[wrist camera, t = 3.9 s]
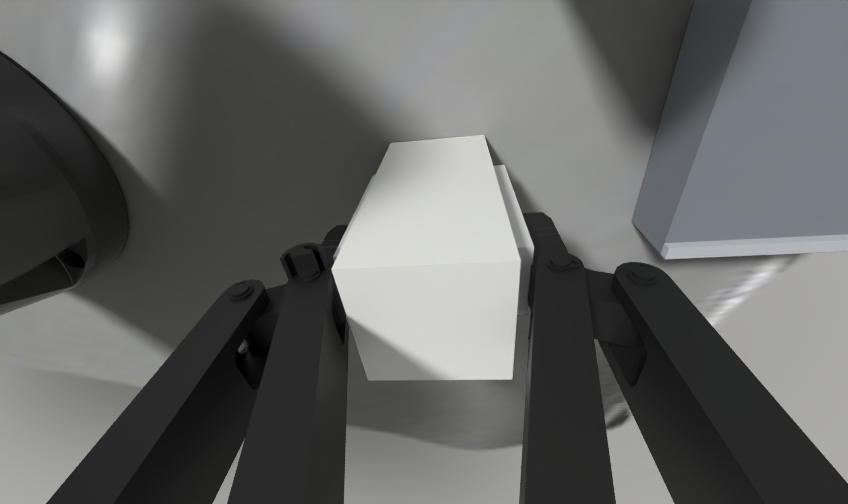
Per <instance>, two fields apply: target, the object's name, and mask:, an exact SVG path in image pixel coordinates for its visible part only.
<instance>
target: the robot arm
mask: <svg viewBox="0 0 848 504" xmlns="http://www.w3.org/2000/svg"><path fill="white" fill-rule="evenodd" d="M493 167H494V170H495V174H496V177H497V181H498V184H499V187H500V191H501V194H502V198H503V201H504V205H505V208H506V211H507V215H508V218H509V222H510V225H511V229H512V232H513V235H514V239H515V242H516V246H517V249H518V253H519V256H520V259H521V266H520V280H519V293H518V307H517V315H525V314H528V305H529V306H530V310H531V319H530V328H529V338H528V339H529V349H528V365H527V382H526V398H525V415H524V432H523V448H522V465H521V482H520V499H519V504H616V501H615V494H614V486H613V478H612V471H611V463H610V456H609V448H608V441H607V433H606V426H605V419H604V411H603V404H602V396H601V389H600V381H599V374H598V366H597V359H596V351H595V344H594V339H598V342H599V344H600V346H601V348H602V350H603V352H604V355H605V357H606V359H607V361H608V363H609V365H610V367H611V369H612V372H613V374H614V376H615V378H616V380H617V382H618V384H619V386H620V389H621V391H622V393H623V395H624V397H625V399H626V401H627V403H628V406H629V408H630V410H631V412H632V414H633V416H634V418H635V420H636V423H637V425H638V427H639V429H640V431H641V433H642V435H643V437H644V440H645V442H646V444H647V446H648V448H649V450H650V452H651V454H652V456H653V459H654V461H655V463H656V465H657V467H658V469H659V472H660V474H661V476H662V478H663V480H664V482H665V484H666V486H667V488H668V491H669V493H670V495H671V497H672V499H673V501H674V503H675V504H848V483H847V482H846V481H845V480H844V479H843V477H841V475H840V474H839V473H838V472H837V471H836V469H835V468H834V467H833V466H832V465H831V464H830V463H829V461H828V460H827V459H826V458H825V457H824V455H823V454H822V453H821V452H820V451H819V450H818V448H817V447H816V446H815V445H814V444H813V443H812V442H811V440H810V439H809V438H808V437H807V436H806V435H805V433H804V432H803V431H802V430H801V429H800V428H799V426H798V425H797V424H796V423H795V422H794V421H793V420H792V419H791V417H790V416H789V415H788V414H787V413H786V411H785V410H784V409H783V408H782V407H781V406H780V405H779V403H778V402H777V401H776V400H775V399H774V397H773V396H772V395H771V394H770V393H769V392H768V390H767V389H766V388H765V387H764V386H763V385H762V384H761V382H760V381H759V380H758V379H757V378H756V377H755V376H754V374H753V373H752V372H751V371H750V370H749V369H748V367H747V366H746V365H745V364H744V363H743V361H742V360H741V359H740V358H739V357H738V356H737V355H736V354H735V352H734V351H733V350H732V349H731V348H730V346H729V345H728V344H727V343H726V342H725V341H724V339H722V337H721V336H720V335H719V334H718V332H717V331H716V330H715V329H714V328H713V327H712V326H711V324H710V323H709V322H708V321H707V320H706V319H705V317H704V316H703V315H702V314H701V313H700V312H699V310H698V309H697V308H696V307H695V306H694V305H693V303H692V302H691V301H690V300H689V299H688V298H687V297H686V295H685V294H684V293H683V292H682V291H681V290H680V288H679V287H678V286H677V285H676V284H675V283H674V281H673V280H672V279H671V278H670V277H669V276H668V275H667V274H666V273H665V272H664V271H662V270H661V269H659V268H657V267H655V266H652V265H649V264H645V263H639V262H629V263H623V264H621V265H620V266H618V267H617V268H616V271H615V273H614V274H611V273H604V272H598V271H593V270H589V269H586V268H584V265H583V263H582V261H581V260H580V259H578V258H577V257H576V256H573V255H571V254H569V253H568V251H567V249H566V247H565V245H564V243H563V241H562V239H561V237H560V235H559V234H558V231H557V229H556V228H555V225H554V223H553V221H552V219H551V218H550V217H548V216H547V215H545V214H544V213H543V212H538V213H522V212H521V209H520V207H519V204H518V201H517V198H516V196H515V193H514V190H513V187H512V185H511V182H510V179H509V176H508V174H507V171H506V168H505V165H496V166H493ZM374 177H375V175H373V176H372V178H371V180H370V182H369V184H368V186H367V188H366V190H365V192H364V194H363V196H362V199H361V201H360V203H359V205H358V207H357V209H356V211H355V213H354V215H353V217H352V219H351V221H350V223H349V225H339V226H336V227H334V228H333V229H332V230H331V231H329V232H328V234H327V235H326V237H325V239H324V242H322V244H321V246H320V245H319V244H314V243H306V244H301V245H297V246H295V247H293V248H291V249H289V250H287V251H286V252H285V253H283V255H282V256H281V258H280V260H281V262H282V265H283V267H284V269H285V272H286V274H287V276H288V279H289V280H288V284H285V285H282V286H278V287H274V288H270V289H265V287H264V285H263V283H262V282H260V281H259V280H246V281H242V282H240V283H236V284H234V285H233V286H231V287H230V288H228V289H227V290H226V291H225V292H224V293H222V295H221V296H220V297H219V298H218V299H217V300H216V302H215V303H214V304H213V305H212V306H211V308H210V309H209V310H208V311H207V312H206V314H205V315H204V316H203V317H202V318H201V320H200V321H199V322H198V323H197V324H196V326H195V327H194V328H193V329H192V330H191V331H190V333H189V334H188V335H187V336H186V337H185V339H184V340H183V341H182V342H181V343H180V345H179V346H178V347H177V348H176V349H175V351H174V352H173V353H172V354H171V355H170V357H169V358H168V359H167V360H166V361H165V362H164V364H163V365H162V366H161V367H160V368H159V370H158V371H157V372H156V373H155V374H154V376H153V377H152V378H151V379H150V380H149V382H148V383H147V384H146V385H145V386H144V387H143V389H142V390H141V391H140V392H139V394H138V395H137V396H136V397H135V398H134V400H133V401H132V402H131V403H130V404H129V405H128V407H127V408H126V409H125V410H124V411H123V413H122V414H121V415H120V416H119V417H118V419H117V420H116V421H115V422H114V423H113V425H112V426H111V427H110V428H109V429H108V430H107V432H106V433H105V434H104V435H103V436H102V438H101V439H100V440H99V441H98V442H97V444H96V445H95V446H94V447H93V448H92V449H91V451H90V452H89V453H88V454H87V456H86V457H85V458H84V459H83V460H82V462H81V463H80V464H79V465H78V466H77V467H76V469H75V470H74V471H73V472H72V473H71V475H70V476H69V477H68V478H67V479H66V480H65V482H64V483H63V484H62V485H61V486H60V488H59V489H58V490H57V491H56V492H55V494H54V495H53V496H52V497H51V498H50V500H49V501H48V502H47V503H46V504H212V503H213V501H214V499H215V497H216V495H217V493H218V491H219V489H220V487H221V485H222V483H223V481H224V479H225V477H226V475H227V473H228V471H229V469H230V467H231V465H232V463H233V461H234V459H235V457H236V455H237V453H238V451H239V449H240V447H241V445H242V443H243V441H244V439H245V441H244V444H243V448H242V452H241V455H240V459H239V462H238V466H237V470H236V473H235V477H234V481H233V484H232V488H231V492H230V495H229V499H228V503H227V504H344V475H345V474H344V473H345V442H346V441H345V440H346V408H347V374H348V340H349V327H348V323H347V320H346V316H347V315H346V312H345V309H344V306H343V303H342V300H341V297H340V294H339V291H338V288H337V285H336V282H335V279H334V276H333V273H332V270H331V269H332V267H333V265H334V262H335V260H336V258H337V256H338V254H339V252H340V250H341V248H342V245H343V243H344V241H345V239H346V237H347V235H348V233H349V231H350V228H351V226H352V224H353V222H354V220H355V218H356V216H357V213H358V211H359V209H360V207H361V205H362V203H363V201H364V199H365V196H366V194H367V192H368V190H369V188H370V186H371V184H372V182H373V179H374ZM127 235H128V217H127V211H126V207H125V203H124V200H123V197H122V194H121V191H120V189H119V186H118V184H117V182H116V180H115V178H114V176H113V174H112V172H111V170H110V168H109V167H108V165H107V163H106V162H105V160H104V158H103V157H102V155H101V154H100V152H99V151H98V149H97V148H96V147H95V145H94V144H93V142H92V141H91V140H90V139H89V137H88V136H87V135H86V133H85V132H84V131H83V130H82V129H81V127H80V126H79V125H78V124H77V123H76V121H75V120H74V119H73V118H72V117H71V116H70V115H69V114H68V113H67V112H66V111H65V109H64V108H63V107H62V106H61V105H60V104H59V103H58V102H57V101H56V100H55V99H54V98H53V97H51V96H50V95H49V94H48V93H47V92H46V91H45V90H44V89H43V88H42V87H41V86H39V85H38V84H37V83H36V82H35V81H34V80H33V79H31V78H30V77H29V76H28V75H27V74H25V73H24V72H23V71H22V70H20V69H19V68H18V67H17V66H15V65H14V64H13V63H11V62H10V61H9V60H7V59H6V58H4V57H3V56H2V55H0V315H2V314H5V313H7V312H10V311H13V310H16V309H18V308H21V307H24V306H27V305H30V304H32V303H35V302H38V301H41V300H43V299H46V298H49V297H52V296H54V295H57V294H60V293H63V292H65V291H68V290H71V289H73V288H75V287H77V286H79V285H80V284H82V283H84V282H85V281H87V280H88V279H90V278H91V277H92V276H94V275H95V274H97V273H98V272H99V271H101V270H102V269H104V268H105V267H106V266H108V265H109V264H110V263H112V262H113V261H114V260H115V259H116V258H117V257H118V256H119V255H120V253H121V252H122V250H123V248H124V246H125V243H126V240H127ZM242 342H243V343H244V345H245V347H244V349H243V350H242V351H241V352H240V353H239V352H238V348H239V347H240V345H241V344H242Z"/></svg>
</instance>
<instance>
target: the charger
mask: <svg viewBox="0 0 848 504" xmlns="http://www.w3.org/2000/svg"><path fill="white" fill-rule="evenodd" d="M520 266H521V259H520V256H519V253H518V249H517V246H516V242H515V239H514V235H513V232H512V229H511V225H510V222H509V218H508V215H507V211H506V208H505V205H504V201H503V198H502V194H501V191H500V187H499V184H498V181H497V177H496V174H495V170H494V167H493V163H492V160H491V157H490V153H489V150H488V146H487V143H486V139H485V136H484V135H476V136H465V137H453V138H442V139H431V140H419V141H408V142H397V143H390V145H389V147H388V150H387V152H386V154H385V156H384V158H383V160H382V162H381V165H380V167H379V169H378V171H377V173H376V175H375V177H374V179H373V182H372V184H371V186H370V188H369V190H368V192H367V194H366V196H365V199H364V201H363V203H362V205H361V207H360V209H359V211H358V213H357V216H356V218H355V220H354V222H353V224H352V226H351V228H350V231H349V233H348V235H347V237H346V239H345V241H344V243H343V245H342V248H341V250H340V252H339V254H338V256H337V258H336V260H335V262H334V265H333V267H332V269H331V270H332V273H333V276H334V279H335V282H336V285H337V288H338V291H339V294H340V297H341V300H342V303H343V306H344V309H345V312H346V315H347V318H348V321H349V325H350V328H351V331H352V334H353V337H354V340H355V343H356V346H357V349H358V352H359V355H360V358H361V361H362V364H363V367H364V370H365V373H366V376H367V379H368V381H387V380H512V376H513V366H514V352H515V335H516V321H517V307H518V293H519V280H520Z"/></svg>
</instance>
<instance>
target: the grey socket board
mask: <svg viewBox="0 0 848 504" xmlns="http://www.w3.org/2000/svg"><path fill="white" fill-rule="evenodd" d="M632 223H633V224H634V225H635V226H636V227H637V228H638V229H639V230H640V232H641V233H642V234H643V235H644V236H645V237H646V238H647V240H648V241H649V242H650V243H651V244H652V245H653V246H654V247H655V249H656V250H657V251H658V252H659V253H660V254H661V255H662V256H663V258H664V259H683V258H706V257H728V256H751V255H774V254H797V253H818V252H842V251H848V0H694V3H693V6H692V10H691V13H690V17H689V21H688V24H687V28H686V31H685V35H684V38H683V42H682V45H681V49H680V52H679V56H678V59H677V63H676V67H675V70H674V74H673V77H672V81H671V84H670V88H669V91H668V95H667V98H666V102H665V105H664V109H663V113H662V116H661V120H660V123H659V127H658V130H657V134H656V137H655V141H654V144H653V148H652V152H651V155H650V159H649V162H648V166H647V169H646V173H645V176H644V180H643V183H642V187H641V190H640V194H639V198H638V201H637V205H636V208H635V212H634V215H633V219H632Z"/></svg>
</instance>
